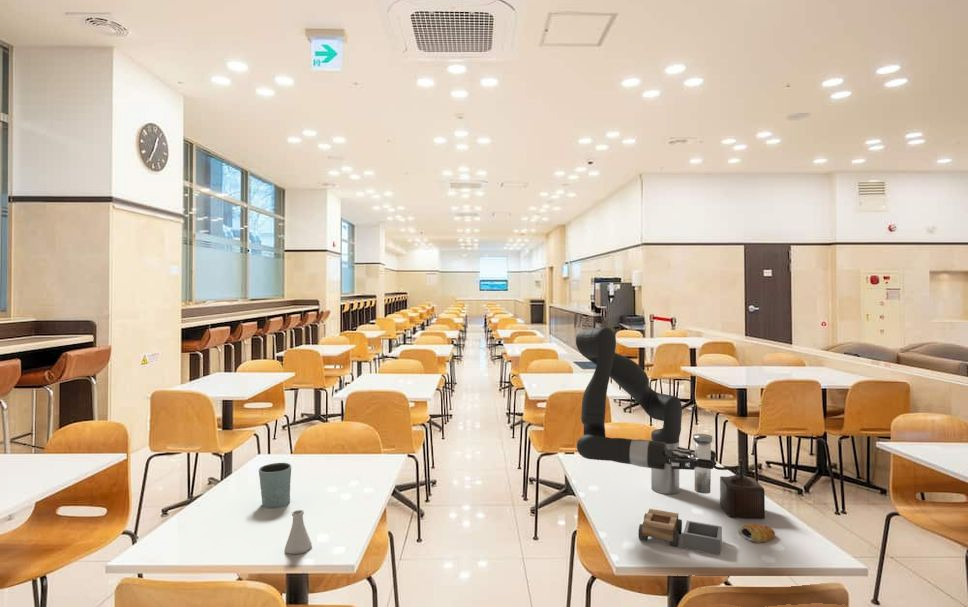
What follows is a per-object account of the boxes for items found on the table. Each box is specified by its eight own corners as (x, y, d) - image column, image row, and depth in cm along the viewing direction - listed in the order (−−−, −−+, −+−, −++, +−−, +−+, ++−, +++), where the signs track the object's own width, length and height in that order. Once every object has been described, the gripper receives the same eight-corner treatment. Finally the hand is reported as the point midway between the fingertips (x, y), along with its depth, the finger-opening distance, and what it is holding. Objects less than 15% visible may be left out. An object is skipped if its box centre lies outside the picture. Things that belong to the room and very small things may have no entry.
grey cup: (280, 510, 169) (280, 473, 169) (252, 508, 171) (251, 471, 171) (297, 498, 179) (297, 463, 179) (271, 496, 181) (270, 461, 181)
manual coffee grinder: (752, 505, 171) (752, 449, 170) (765, 519, 160) (765, 460, 160) (702, 503, 173) (701, 448, 173) (711, 517, 162) (711, 458, 162)
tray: (687, 534, 150) (686, 520, 150) (721, 540, 146) (721, 526, 146) (683, 548, 142) (683, 533, 142) (720, 555, 138) (720, 539, 138)
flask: (315, 542, 147) (315, 506, 147) (307, 554, 140) (307, 517, 140) (289, 542, 147) (288, 507, 147) (280, 555, 140) (279, 517, 140)
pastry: (762, 530, 153) (762, 517, 153) (782, 540, 147) (782, 527, 147) (736, 534, 150) (736, 521, 150) (754, 545, 144) (755, 531, 144)
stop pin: (693, 486, 147) (694, 432, 147) (712, 489, 145) (713, 434, 145) (692, 492, 143) (692, 437, 143) (711, 495, 141) (711, 439, 140)
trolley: (645, 521, 159) (645, 505, 159) (682, 528, 154) (682, 511, 154) (636, 541, 146) (636, 523, 146) (676, 549, 142) (676, 530, 141)
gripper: (643, 447, 144) (712, 455, 136) (652, 434, 157) (715, 442, 149) (643, 474, 144) (712, 484, 136) (652, 460, 157) (715, 468, 149)
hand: (713, 462), depth 143 cm, fingers closed on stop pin, 4 cm apart
